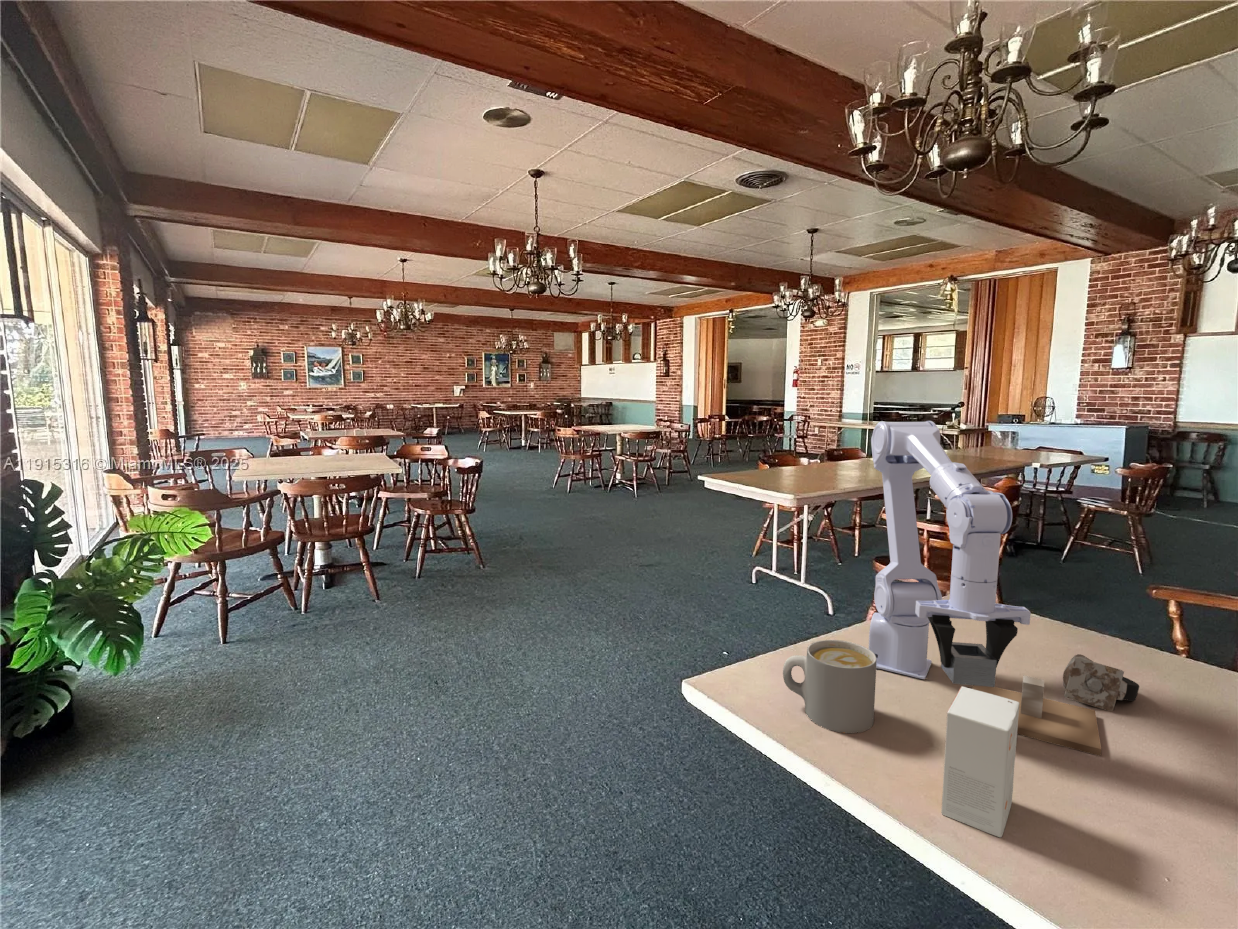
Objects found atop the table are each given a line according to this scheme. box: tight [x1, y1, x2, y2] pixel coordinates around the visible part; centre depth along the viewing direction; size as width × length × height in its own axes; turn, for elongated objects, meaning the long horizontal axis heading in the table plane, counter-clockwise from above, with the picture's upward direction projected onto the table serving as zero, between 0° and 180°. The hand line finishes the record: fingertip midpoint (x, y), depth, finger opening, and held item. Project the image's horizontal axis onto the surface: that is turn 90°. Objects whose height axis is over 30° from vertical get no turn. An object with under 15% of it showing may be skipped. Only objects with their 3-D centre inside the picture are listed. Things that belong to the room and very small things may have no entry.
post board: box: [971, 675, 1102, 757], centre depth 91 cm, size 16×12×6 cm
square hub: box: [940, 641, 997, 687], centre depth 88 cm, size 5×5×4 cm
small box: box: [940, 686, 1019, 838], centre depth 72 cm, size 8×6×13 cm
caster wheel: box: [1062, 653, 1140, 712], centre depth 98 cm, size 7×11×10 cm
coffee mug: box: [782, 639, 877, 734], centre depth 94 cm, size 13×10×10 cm
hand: (967, 666), depth 88 cm, fingers closed on square hub, 5 cm apart
